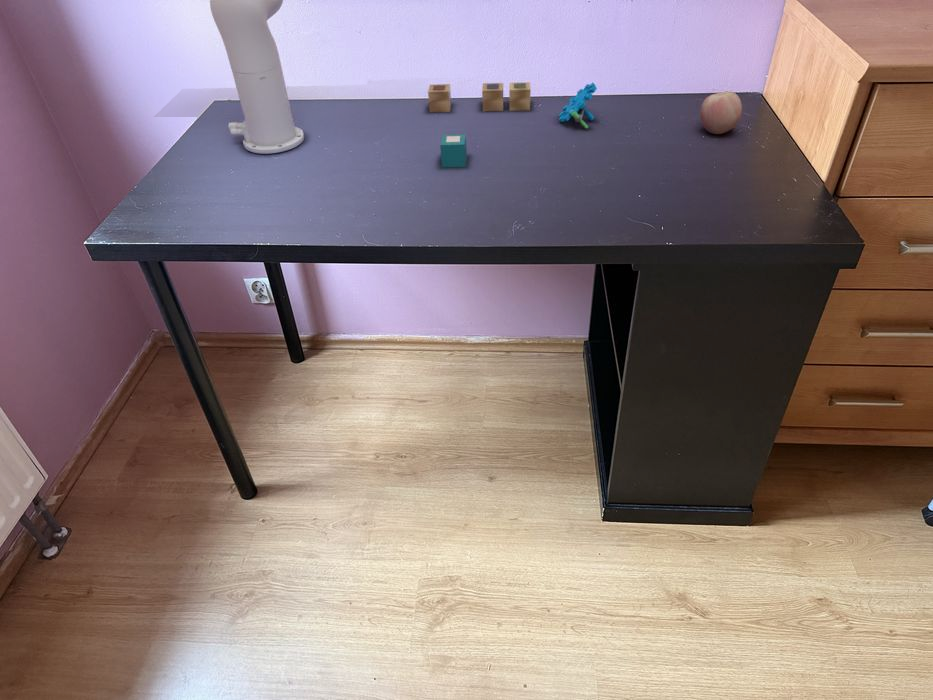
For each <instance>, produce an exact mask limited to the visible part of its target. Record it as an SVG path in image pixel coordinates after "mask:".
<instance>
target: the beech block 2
mask: <svg viewBox="0 0 933 700" xmlns="http://www.w3.org/2000/svg"><path fill="white" fill-rule="evenodd" d="M481 101H482V112H503V111H504V82H489V83H488V82H487V83H486V82H485V83H482V90H481Z"/></svg>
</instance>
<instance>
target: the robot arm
mask: <svg viewBox="0 0 933 700" xmlns="http://www.w3.org/2000/svg"><path fill="white" fill-rule="evenodd" d="M283 2H284V0H209V8H210V12H211V16H212V18H213V21H214V23H215V25H216V27H217V30H218V32H219V35H220V37H221V39H222V43H223V45H224V48H225V51H226V55H227V58H228V62H229V66H230V69H231V72H232V76H233V80H234V84H235V88H236V91H237V95H238V98H239V102H240V107H241V110H242V114H243V118H244V120H243V121H242V122H238V121H235V122H233V121H232V122H231V121H230V122H228V124H227V125H228V126H227V127H228V129H229V132H230V135H231V136H242V137H244V138H243V139H242V143H243V147H244V148H245V150H247V151H249V152H251V153H254V154H259V155H260V154H261V155H269V154H270V155H271V154H277V153H283V152H287V151H290V150H292V149H295V148H296V147H298V146H300V145H301V144H302V143H303V142H304V140H305V133H304V131H303V129H302V128H300V127H298V126H295V123H294V119H293V113H292V108H291V104H290V100H289V95H288V90H287V86H286V81H285V75H284V72H283V66H282V61H281V60H280V54H279V50H278V47H277V44H276V41H275V38H274V36H273V34H272V32H271V30H270V27H269V24H268V20H269V19H271V18H272V17H273V16H274V15H276V13H278V12H279V10H280V9H281V7H282V6H283Z"/></svg>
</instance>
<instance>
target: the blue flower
mask: <svg viewBox="0 0 933 700" xmlns="http://www.w3.org/2000/svg"><path fill="white" fill-rule="evenodd" d="M597 89H598V88H597V85H596V84H595V83H594V82H591V83H590V84H589V83H587V84H586V85H585V86H584V88H580V89H579V90H577V92H576V95H575V96H572V97H571V98H569V100H568V102H569V104H565V105H564V106H563V107H562V110H561V112H560V113H559V114H558V120H559V122H561V123H564V122H569V120H570V119H571V118H574V122H575V123H579V124H580V125H581V126H582V127H583V128H584V129H585V130H587V129H588V128H589V126H588V124H587V123H586V122H585V121H584V120H583V117H584V115H585V116H586V118H587V119H588V120H589V121H591V122H592V121H593V120H594V119H595V116H594V115H593V114H592V113H591V112H590V111H589V110H588V109H587V107H586V106H587V104H586V101H590V100H591V99H592V98H593V97H594V95H593V94H594V93H595V92H596V91H597Z"/></svg>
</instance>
